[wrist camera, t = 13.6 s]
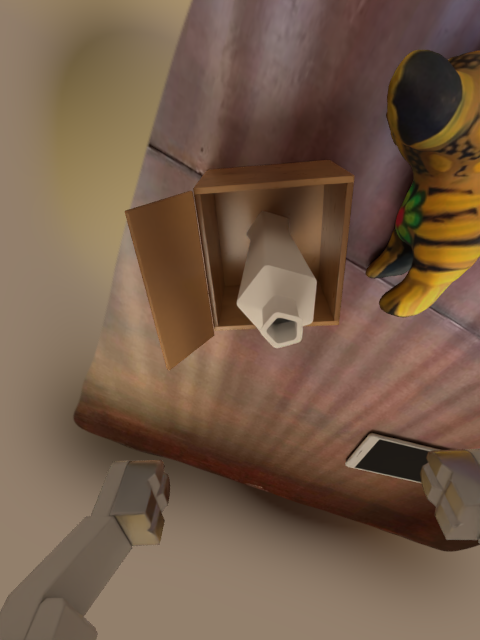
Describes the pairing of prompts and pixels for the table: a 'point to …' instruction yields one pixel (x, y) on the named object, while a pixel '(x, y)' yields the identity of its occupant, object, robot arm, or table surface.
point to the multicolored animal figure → (433, 178)
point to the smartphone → (390, 457)
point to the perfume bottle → (276, 282)
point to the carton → (284, 200)
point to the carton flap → (173, 273)
